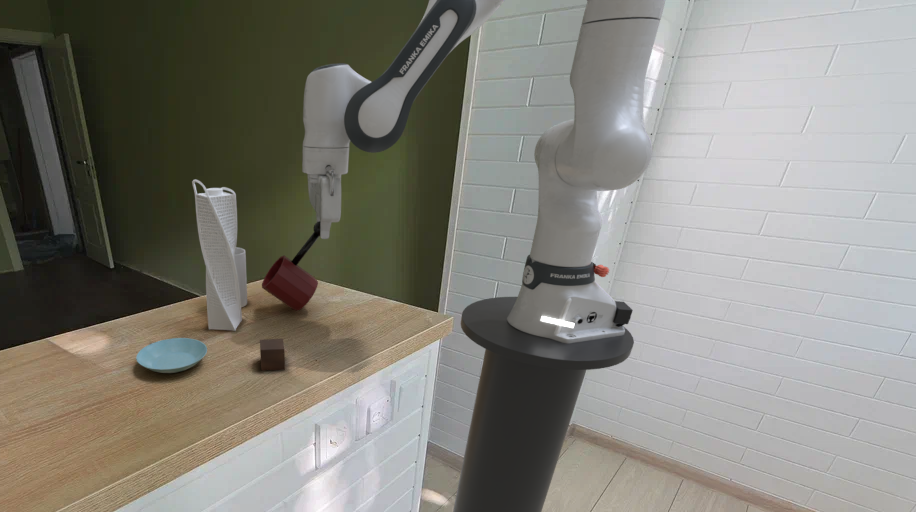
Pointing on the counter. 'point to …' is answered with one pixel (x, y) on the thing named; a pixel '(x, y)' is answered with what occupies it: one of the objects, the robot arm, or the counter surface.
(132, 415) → the counter surface
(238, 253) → the mug
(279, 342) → the block
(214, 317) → the skyscraper
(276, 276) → the pot
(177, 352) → the saucer
